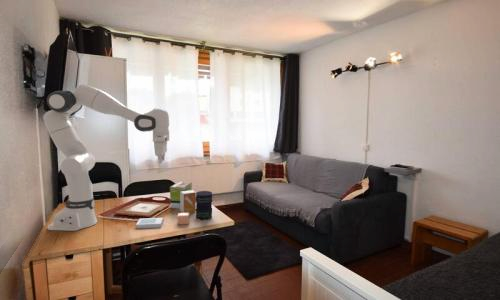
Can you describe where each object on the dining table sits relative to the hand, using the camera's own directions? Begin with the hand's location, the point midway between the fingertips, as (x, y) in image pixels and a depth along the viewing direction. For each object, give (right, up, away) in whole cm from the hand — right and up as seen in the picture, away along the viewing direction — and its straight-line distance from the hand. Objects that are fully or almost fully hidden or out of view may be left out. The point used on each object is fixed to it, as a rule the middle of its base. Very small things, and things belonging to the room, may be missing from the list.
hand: (161, 161), depth 154 cm
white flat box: (-5, -35, -4) cm, 35 cm away
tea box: (+4, -31, +31) cm, 44 cm away
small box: (+11, -33, +18) cm, 39 cm away
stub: (+13, -34, -1) cm, 37 cm away
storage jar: (+23, -34, +9) cm, 42 cm away
